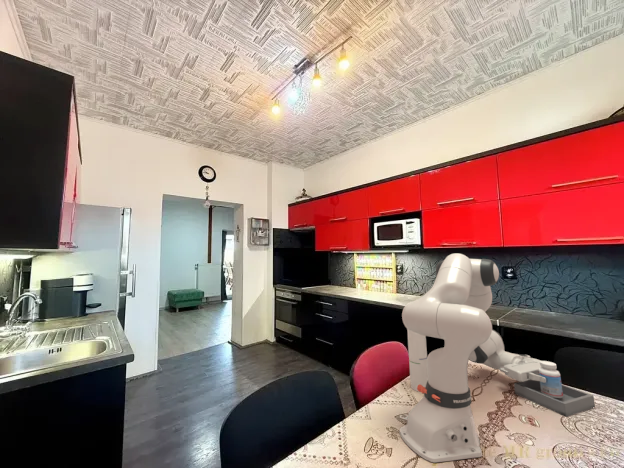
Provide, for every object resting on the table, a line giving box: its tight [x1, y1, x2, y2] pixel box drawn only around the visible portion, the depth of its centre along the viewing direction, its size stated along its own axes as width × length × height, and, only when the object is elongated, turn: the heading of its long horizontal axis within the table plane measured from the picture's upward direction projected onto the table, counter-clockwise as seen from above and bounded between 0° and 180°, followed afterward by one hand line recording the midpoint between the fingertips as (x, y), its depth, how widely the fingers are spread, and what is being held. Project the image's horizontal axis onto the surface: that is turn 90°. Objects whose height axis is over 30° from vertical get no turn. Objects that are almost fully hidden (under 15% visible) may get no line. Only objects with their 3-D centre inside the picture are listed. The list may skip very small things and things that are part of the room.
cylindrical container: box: [406, 328, 428, 393], centre depth 107 cm, size 7×7×25 cm
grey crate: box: [513, 380, 596, 418], centre depth 95 cm, size 16×16×4 cm
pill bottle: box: [538, 360, 563, 398], centre depth 96 cm, size 6×6×11 cm
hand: (552, 378), depth 95 cm, fingers closed on pill bottle, 6 cm apart
